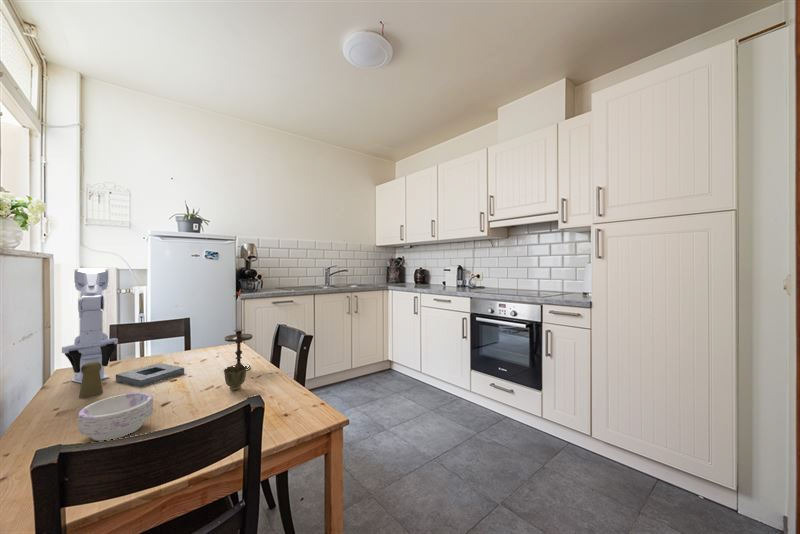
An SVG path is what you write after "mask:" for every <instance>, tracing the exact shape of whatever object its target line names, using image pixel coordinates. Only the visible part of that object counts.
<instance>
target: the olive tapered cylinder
mask: <svg viewBox="0 0 800 534" xmlns="http://www.w3.org/2000/svg"><path fill="white" fill-rule="evenodd" d="M101 368H102V366H101V364H100V363H98V362H92V363H87V364H84V365H83V366H82V367H81V372H82V373H83V378H82V383H80V390H79V395H78V397H79V398H80V399H89V397H90V398H94V397H97V395H98V396H100V395H102V394H103V393H104V390H103V385H102V380H101V378H100V372H99V371H100V370H101Z"/></svg>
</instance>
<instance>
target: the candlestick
mask: <svg viewBox="0 0 800 534" xmlns="http://www.w3.org/2000/svg"><path fill="white" fill-rule="evenodd" d="M241 293H242V289H241V288H240V289H239V291H238V294H237V296H238V297H237V299H236V320H235V321H236V322H235V323H236V326H235V327H236V329H235V330H233V332H235V333H236V334H230V335H227V336H224V341H225V342H228V343H231V342H232V343H234V342H235V343H236V351H235V352H234V353H235V355H236V357H235V359H236V364H235V365H234V364H233V365H231V366H235V367H236V368H237V365H240V366H241V365H242V364H243V363H241V359H242V358H243V357H242V356H241V355H242V354H243V350H241V343H243V342H244V341H249V340H252V339H253V334H252V333H242V331H244V329H242V299H241ZM248 365H249V364H248ZM231 366H229V367H231ZM249 367H250V368H251V365H249ZM249 367H248V368H249ZM248 368H247V369H248Z"/></svg>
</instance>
